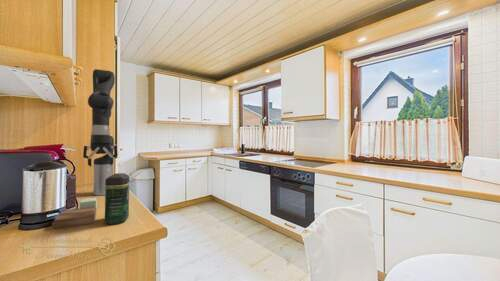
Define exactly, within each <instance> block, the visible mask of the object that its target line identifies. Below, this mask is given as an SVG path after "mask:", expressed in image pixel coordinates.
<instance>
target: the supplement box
mask: <svg viewBox="0 0 500 281" xmlns="http://www.w3.org/2000/svg"><path fill="white" fill-rule="evenodd" d="M66 174H67V185H66V190H67V200H66V209H67V210H72V209H77V203H76V202H77V197H76V196H77V193H76V192H77V184H76V183H77V181H76V180H77V177H76V176H77V175H76V173H75V174H73V173H66ZM74 197H75V198H74ZM75 199H76V200H75Z"/></svg>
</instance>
